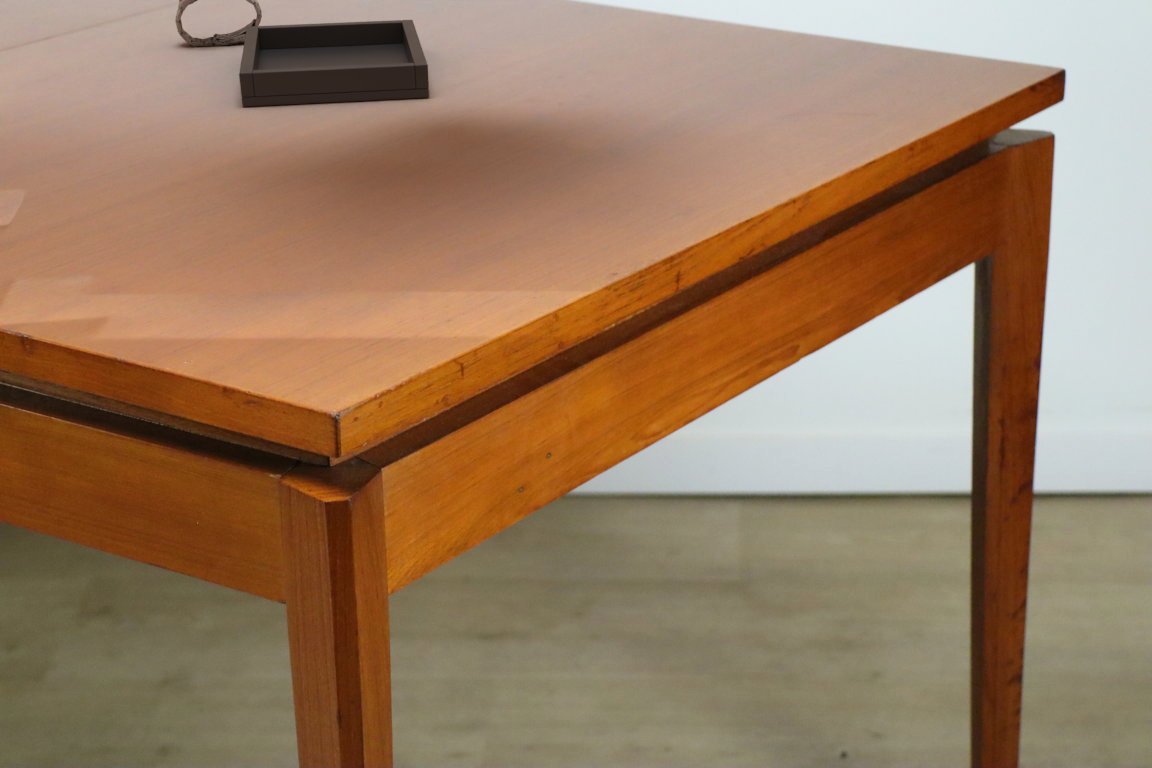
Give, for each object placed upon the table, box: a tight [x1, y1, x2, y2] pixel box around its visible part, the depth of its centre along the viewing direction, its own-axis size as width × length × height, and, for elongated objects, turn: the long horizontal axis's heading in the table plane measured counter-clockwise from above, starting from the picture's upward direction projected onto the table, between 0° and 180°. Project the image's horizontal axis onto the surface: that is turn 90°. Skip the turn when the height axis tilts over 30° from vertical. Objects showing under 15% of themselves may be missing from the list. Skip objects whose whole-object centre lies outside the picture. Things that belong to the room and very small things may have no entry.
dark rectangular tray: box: [238, 19, 430, 108], centre depth 101 cm, size 12×15×2 cm
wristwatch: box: [174, 0, 263, 48], centre depth 110 cm, size 4×6×5 cm, turn 99°
